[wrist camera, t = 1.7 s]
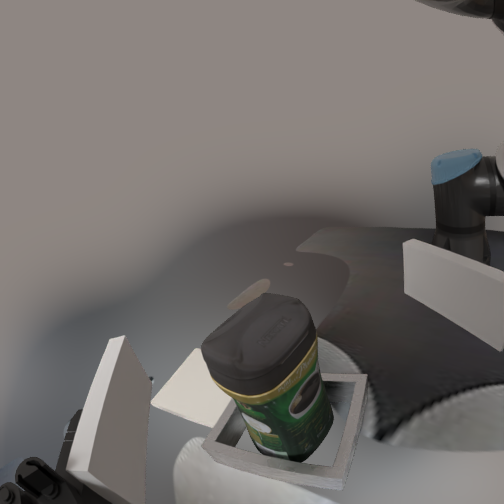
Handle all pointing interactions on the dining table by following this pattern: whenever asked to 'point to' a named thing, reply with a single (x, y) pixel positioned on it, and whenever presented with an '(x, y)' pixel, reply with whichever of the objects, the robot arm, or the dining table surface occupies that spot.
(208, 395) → the placemat
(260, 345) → the coffee jar
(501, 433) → the dining table surface
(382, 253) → the dining table surface
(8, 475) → the dining table surface
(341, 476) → the collar stand
